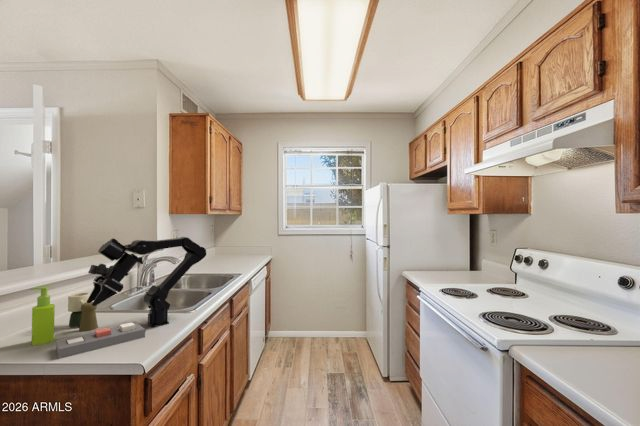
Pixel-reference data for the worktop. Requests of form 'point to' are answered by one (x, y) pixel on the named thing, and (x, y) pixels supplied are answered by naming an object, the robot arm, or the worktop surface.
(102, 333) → the red button
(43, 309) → the soap dispenser
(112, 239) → the robot arm
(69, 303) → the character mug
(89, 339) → the button panel
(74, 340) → the button
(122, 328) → the button
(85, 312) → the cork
